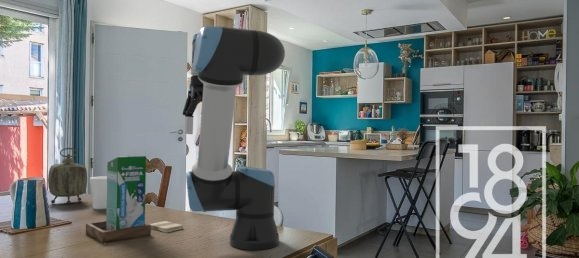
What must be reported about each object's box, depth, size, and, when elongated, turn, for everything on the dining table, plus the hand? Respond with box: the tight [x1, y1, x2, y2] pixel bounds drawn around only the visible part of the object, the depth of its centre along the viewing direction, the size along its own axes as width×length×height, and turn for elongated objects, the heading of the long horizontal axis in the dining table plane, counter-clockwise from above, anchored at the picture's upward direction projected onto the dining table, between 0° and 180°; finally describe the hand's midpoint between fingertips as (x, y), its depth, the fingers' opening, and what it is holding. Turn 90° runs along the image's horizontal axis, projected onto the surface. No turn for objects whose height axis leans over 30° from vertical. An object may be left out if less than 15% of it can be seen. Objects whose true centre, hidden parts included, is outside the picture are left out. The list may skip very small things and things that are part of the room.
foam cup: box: [89, 175, 107, 210], centre depth 173 cm, size 10×9×13 cm
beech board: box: [149, 220, 184, 233], centre depth 140 cm, size 10×7×1 cm
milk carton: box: [105, 154, 147, 231], centre depth 130 cm, size 9×9×25 cm
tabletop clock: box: [47, 147, 88, 205], centre depth 181 cm, size 14×9×25 cm, turn 130°
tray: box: [85, 220, 152, 245], centre depth 130 cm, size 15×15×3 cm
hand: (198, 134), depth 147 cm, fingers open, 13 cm apart
